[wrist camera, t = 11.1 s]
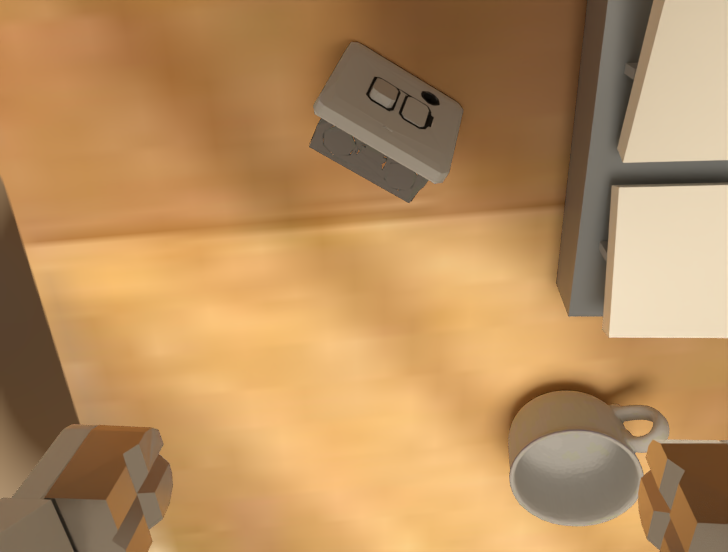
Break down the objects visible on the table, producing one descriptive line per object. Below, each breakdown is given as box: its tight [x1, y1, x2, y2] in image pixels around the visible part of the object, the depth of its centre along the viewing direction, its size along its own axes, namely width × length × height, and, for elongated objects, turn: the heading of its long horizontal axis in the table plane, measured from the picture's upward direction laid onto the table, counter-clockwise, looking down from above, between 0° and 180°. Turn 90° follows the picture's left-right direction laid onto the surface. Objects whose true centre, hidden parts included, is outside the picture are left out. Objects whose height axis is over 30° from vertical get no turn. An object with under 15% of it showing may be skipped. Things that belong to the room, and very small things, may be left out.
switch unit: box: [556, 0, 728, 316], centre depth 40 cm, size 24×14×7 cm, turn 3°
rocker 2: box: [602, 183, 728, 338], centre depth 39 cm, size 10×11×2 cm
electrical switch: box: [309, 42, 463, 203], centre depth 40 cm, size 9×5×9 cm, turn 61°
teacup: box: [508, 391, 669, 526], centre depth 53 cm, size 14×11×8 cm
